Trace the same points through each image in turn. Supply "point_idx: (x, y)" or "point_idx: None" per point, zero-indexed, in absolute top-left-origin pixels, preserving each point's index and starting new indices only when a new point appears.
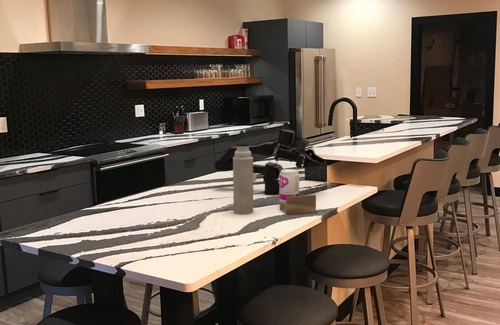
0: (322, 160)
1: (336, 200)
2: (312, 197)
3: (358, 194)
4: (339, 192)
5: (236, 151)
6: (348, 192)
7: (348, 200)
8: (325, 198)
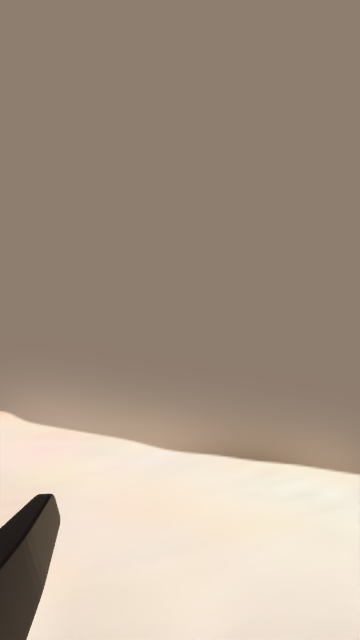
0: (39, 550)
1: (275, 527)
2: None
3: (92, 445)
4: None
5: None
6: None
7: (240, 463)
8: (258, 631)
